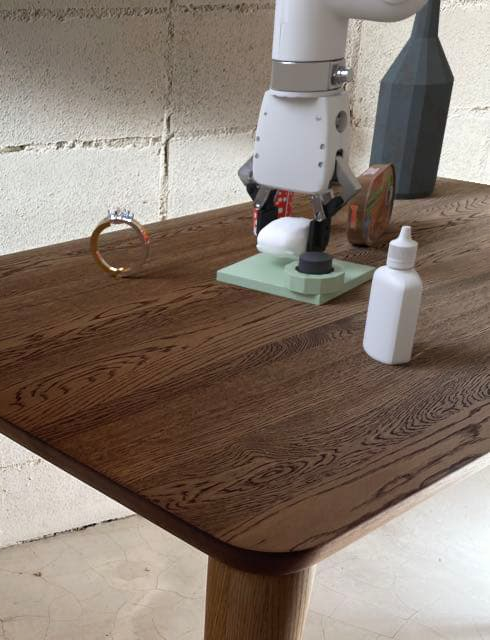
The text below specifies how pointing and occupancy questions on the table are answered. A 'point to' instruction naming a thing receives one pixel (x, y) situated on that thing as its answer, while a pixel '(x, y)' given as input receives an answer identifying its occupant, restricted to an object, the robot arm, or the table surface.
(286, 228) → the garlic
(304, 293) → the scale
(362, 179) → the tin
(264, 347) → the table surface
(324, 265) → the button
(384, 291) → the eye dropper bottle
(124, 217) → the ring
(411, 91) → the bottle
